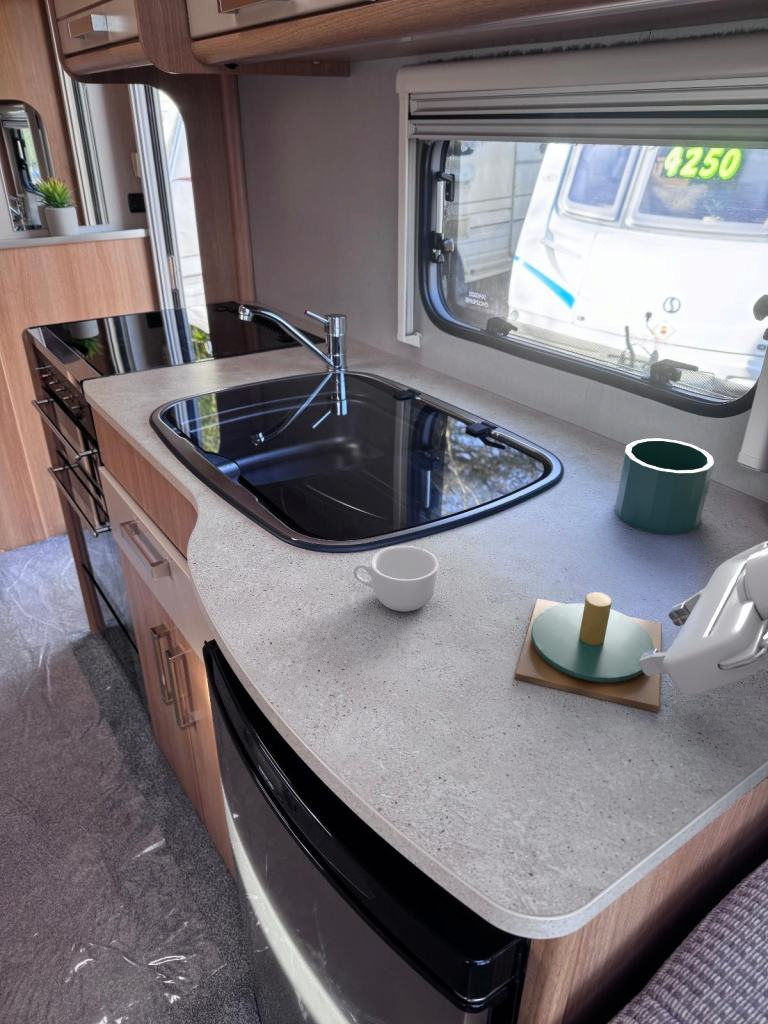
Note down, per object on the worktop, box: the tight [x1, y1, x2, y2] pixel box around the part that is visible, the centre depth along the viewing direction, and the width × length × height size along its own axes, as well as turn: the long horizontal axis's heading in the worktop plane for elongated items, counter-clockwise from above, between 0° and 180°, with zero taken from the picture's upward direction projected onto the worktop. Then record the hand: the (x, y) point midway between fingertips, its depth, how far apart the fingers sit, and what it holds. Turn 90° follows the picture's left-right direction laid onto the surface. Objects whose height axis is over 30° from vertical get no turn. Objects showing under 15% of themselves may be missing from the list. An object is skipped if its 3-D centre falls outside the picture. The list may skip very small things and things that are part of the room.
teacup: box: [353, 545, 440, 613], centre depth 85 cm, size 10×8×5 cm
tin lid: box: [531, 591, 654, 682], centre depth 76 cm, size 13×13×6 cm
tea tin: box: [614, 438, 715, 536], centre depth 103 cm, size 12×12×10 cm
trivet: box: [514, 597, 663, 713], centre depth 78 cm, size 14×14×1 cm
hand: (659, 640), depth 72 cm, fingers open, 8 cm apart
